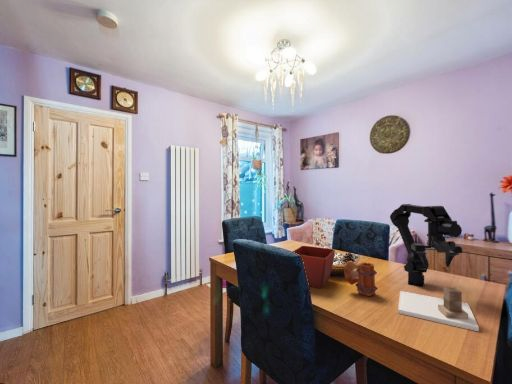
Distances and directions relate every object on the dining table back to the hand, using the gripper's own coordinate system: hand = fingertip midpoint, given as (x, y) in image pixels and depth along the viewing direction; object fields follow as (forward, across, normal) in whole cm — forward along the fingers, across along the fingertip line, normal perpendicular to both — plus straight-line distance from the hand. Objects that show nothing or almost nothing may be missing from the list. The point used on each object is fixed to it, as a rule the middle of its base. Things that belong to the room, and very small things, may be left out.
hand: (436, 266), depth 112 cm
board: (+13, -8, -16) cm, 22 cm away
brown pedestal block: (+12, -4, -22) cm, 25 cm away
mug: (+13, -34, -5) cm, 36 cm away
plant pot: (+13, -56, +5) cm, 57 cm away
